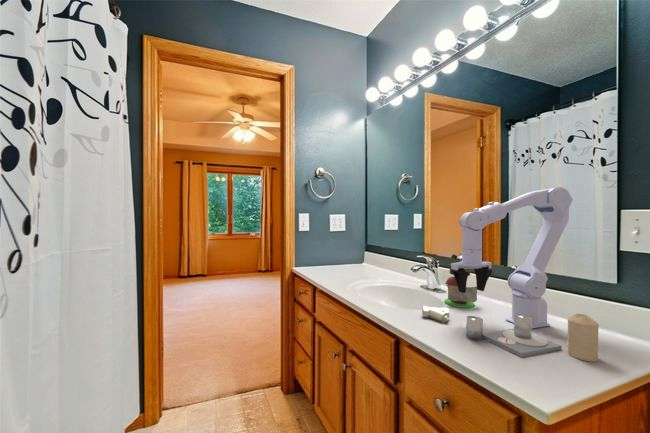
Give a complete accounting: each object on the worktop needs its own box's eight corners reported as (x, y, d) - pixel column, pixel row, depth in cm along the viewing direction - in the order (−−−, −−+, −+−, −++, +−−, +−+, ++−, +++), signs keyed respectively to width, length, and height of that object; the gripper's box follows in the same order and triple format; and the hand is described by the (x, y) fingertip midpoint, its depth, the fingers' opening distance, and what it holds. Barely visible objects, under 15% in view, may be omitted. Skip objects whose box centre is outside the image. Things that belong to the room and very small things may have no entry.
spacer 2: (518, 332, 80) (518, 312, 80) (534, 337, 76) (534, 317, 76) (511, 335, 78) (511, 315, 78) (527, 340, 74) (528, 319, 74)
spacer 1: (474, 334, 81) (474, 315, 82) (486, 340, 78) (486, 320, 78) (463, 336, 80) (463, 316, 80) (474, 342, 76) (474, 321, 76)
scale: (516, 331, 84) (516, 326, 84) (561, 349, 73) (561, 344, 73) (480, 337, 80) (480, 332, 80) (521, 357, 68) (521, 351, 68)
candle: (601, 364, 65) (601, 321, 65) (570, 357, 68) (570, 316, 68) (594, 354, 70) (594, 314, 70) (565, 349, 73) (566, 310, 73)
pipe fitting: (451, 326, 89) (447, 317, 96) (451, 314, 89) (447, 306, 96) (424, 323, 91) (422, 315, 98) (424, 312, 91) (422, 304, 97)
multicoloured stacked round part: (435, 299, 116) (435, 263, 116) (464, 299, 117) (464, 263, 118) (451, 309, 104) (451, 268, 104) (483, 308, 106) (483, 268, 106)
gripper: (479, 247, 97) (478, 286, 97) (444, 248, 93) (444, 289, 93) (497, 249, 91) (496, 292, 91) (461, 250, 86) (460, 295, 86)
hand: (471, 291), depth 91 cm, fingers open, 7 cm apart
